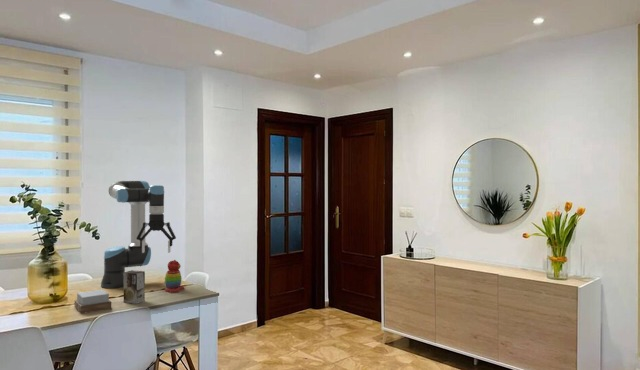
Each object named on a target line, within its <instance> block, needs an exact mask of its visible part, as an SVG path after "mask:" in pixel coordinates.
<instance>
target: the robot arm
mask: <svg viewBox="0 0 640 370" xmlns="http://www.w3.org/2000/svg"><path fill="white" fill-rule="evenodd" d="M108 193H109V194H108V195H110V197H111V198H112V199H115V200H116V202H118V203H123V204H124V203H128V204H129V205H130V243H129V244H128V246H127V248H126V247H125V246H124V245H123V246H116V247H115V246H114V247H110V248H107V249H106V250H105V251H104V252H103V253H104V255H103V259H104V261H103V264H104V265H103V269H104V270H103V272H104V273H103V276H102V278H101V282H100V287H101V288H103V289H116V288H124V272H126V268H133V267H134V268H136V267H144V266H148V265H149V264H150V262H151V257H152V249H151V247H150V246H149V244H148V243H147V242H146V237H147V236H148V235H149V234H150V233H151V232H152V231H153V232H156V231H158V232H159V231H161V232H162V233H163V234H164V235H165V237H166V238H167V239H168V240H167V247H168V248H167V253H171V247H172V246H173V240H175V239H177V237H176V235H175V232H174V230H173V229H172V226H171V223H170V222H165V220H164V219H165V216H164V215H165V214H164V213H165V187H164V185H161V184H159V185H158V184H157V185H150V184H149V182H148V181H145V180H120V181H119V180H118V181H116V182H114V183H112V184H110V186H109V188H108ZM147 203H149V205H148V206H149V209H148V210H149V215H148V217H149V218H148V221H149V222H146V205H147ZM164 226H165V227H166V228H167V230H168V231H167V230H166V229H165V227H164ZM147 227H149V229H148V230H147V231H146V229H147ZM168 232H169V233H168Z"/></svg>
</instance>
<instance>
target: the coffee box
mask: <svg viewBox="0 0 640 370" xmlns="http://www.w3.org/2000/svg"><path fill="white" fill-rule="evenodd" d="M145 277H146V272H145V270H144V271H143V270H128V271H125V272H124V286H123V303H128V304H140V303H143V302H145V296H146V294H145V292H146V289H145V288H146V283H145V282H146V281H145V280H146V279H145Z"/></svg>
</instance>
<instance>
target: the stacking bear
mask: <svg viewBox="0 0 640 370" xmlns="http://www.w3.org/2000/svg"><path fill="white" fill-rule="evenodd" d="M180 268H181V263H179V262H178V261H177V260H176V259H174V260H171V261H169V262H168V263H167V269H168V270H167V271H166V274H165V277H164V285H165V289H164V291H165V292H166V293H173V294H177V293H180V291H185V289H186V287H185V286H183V285H182V275H181V271H180Z"/></svg>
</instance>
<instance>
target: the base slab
mask: <svg viewBox="0 0 640 370" xmlns="http://www.w3.org/2000/svg"><path fill="white" fill-rule="evenodd" d="M74 308H75V309H76V311H78V312H79V314H86V313H85V312H87V313H92V311H93V312H98V311H106V310H109V309H112V301H111V300H110V299H109V302H103V303H97V304H90V305H84V306H82V305H81V304H80V303H79V302H78V301H77V299H76V300H74Z"/></svg>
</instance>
